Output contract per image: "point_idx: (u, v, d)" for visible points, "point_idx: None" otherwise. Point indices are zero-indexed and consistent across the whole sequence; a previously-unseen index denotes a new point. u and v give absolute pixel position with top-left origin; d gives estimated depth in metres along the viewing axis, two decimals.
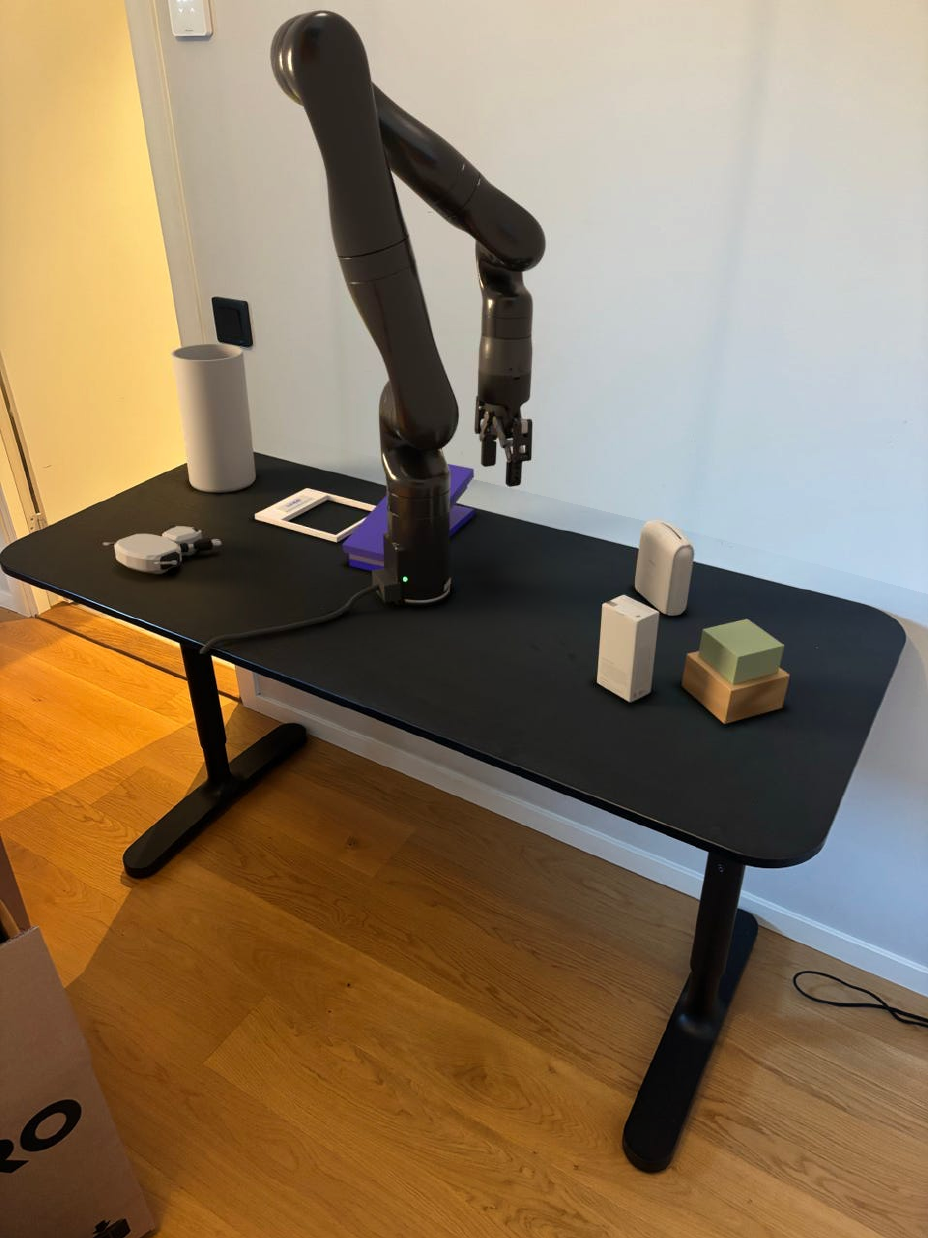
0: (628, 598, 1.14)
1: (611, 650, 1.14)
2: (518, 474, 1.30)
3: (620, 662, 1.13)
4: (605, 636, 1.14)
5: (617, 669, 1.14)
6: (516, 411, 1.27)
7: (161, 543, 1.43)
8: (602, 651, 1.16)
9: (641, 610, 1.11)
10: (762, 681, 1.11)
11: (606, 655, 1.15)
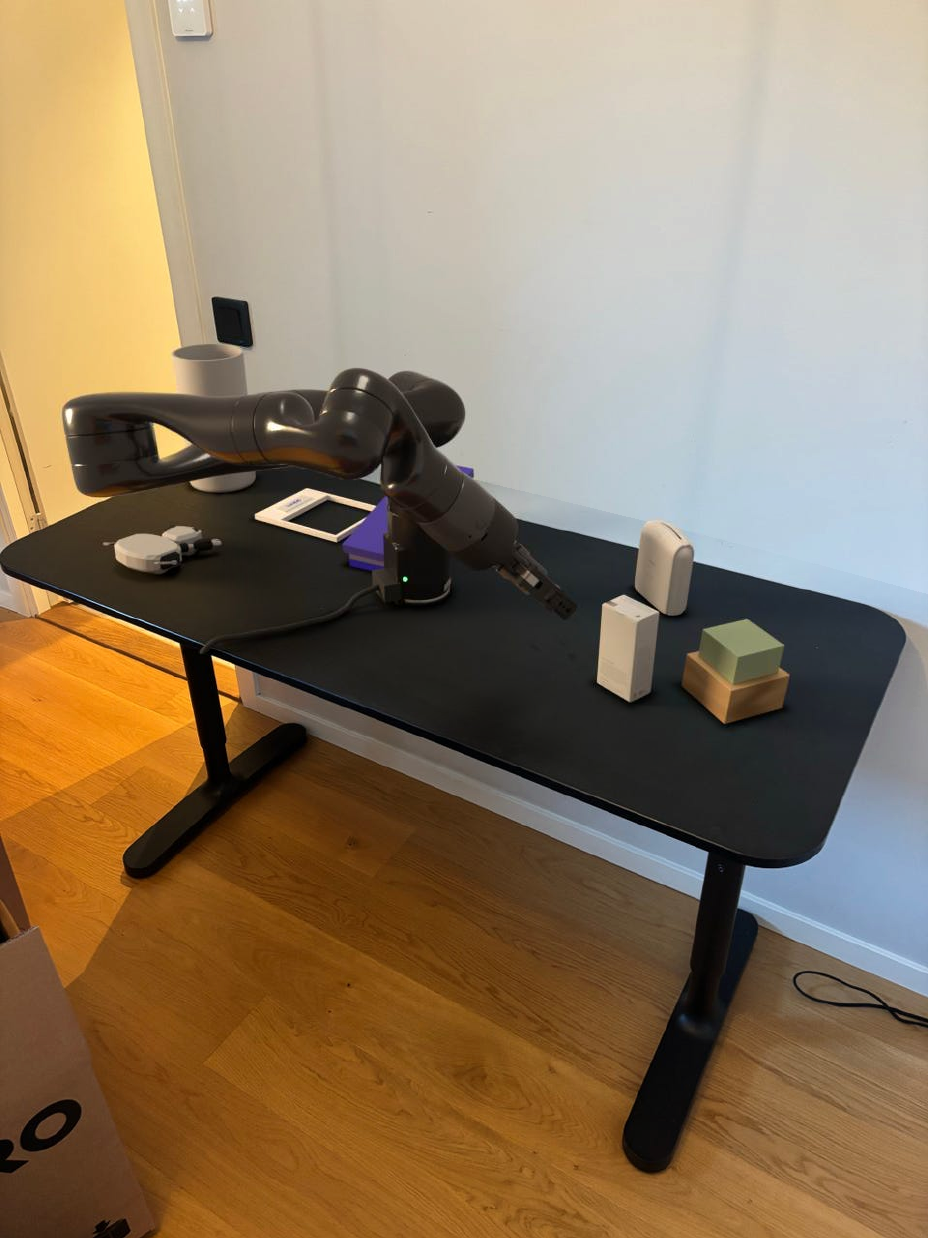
0: (628, 598, 1.14)
1: (611, 650, 1.14)
2: (566, 606, 1.00)
3: (620, 662, 1.13)
4: (605, 636, 1.14)
5: (617, 669, 1.14)
6: (512, 559, 0.96)
7: (161, 543, 1.43)
8: (602, 651, 1.16)
9: (641, 610, 1.11)
10: (762, 681, 1.11)
11: (606, 655, 1.15)
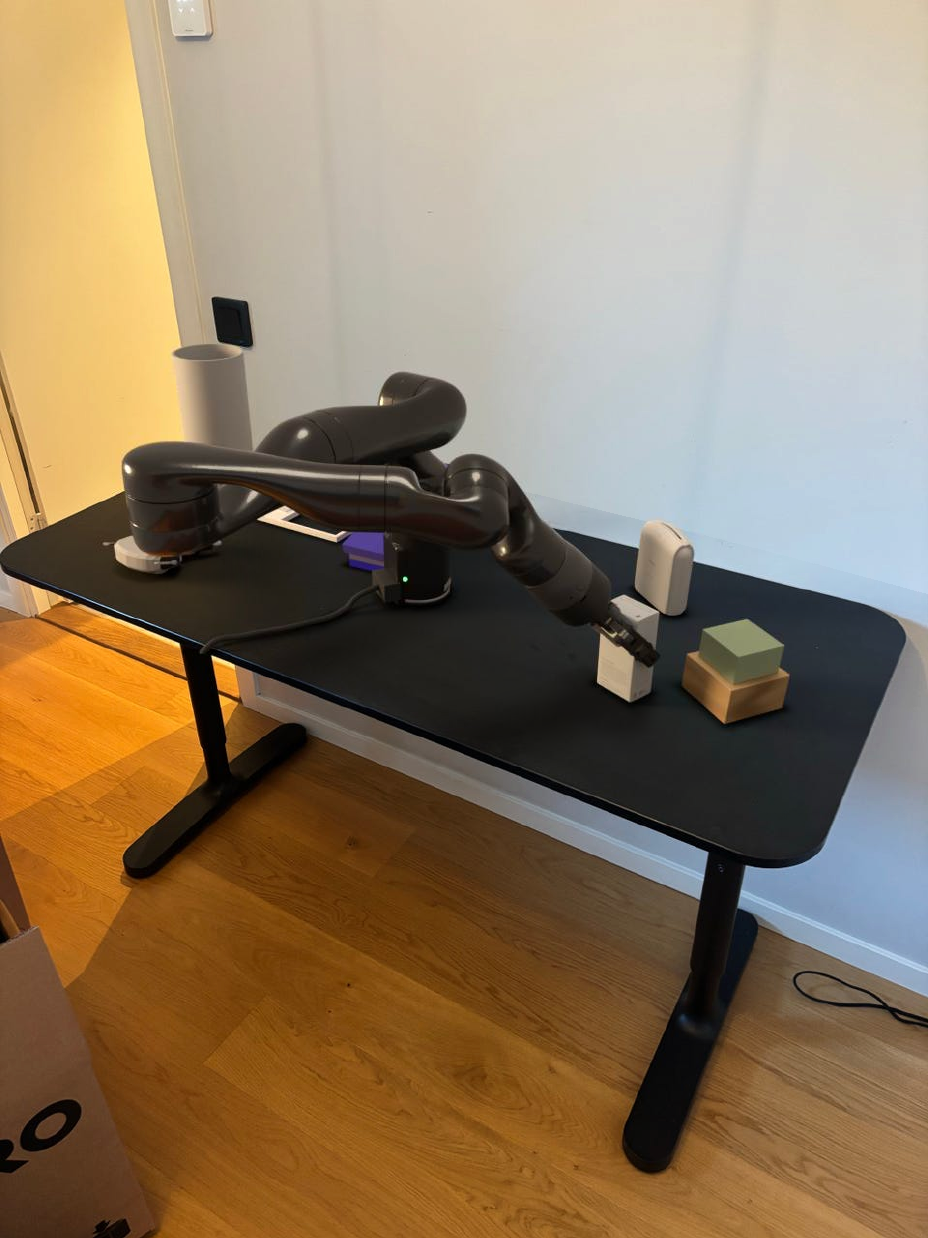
0: (628, 598, 1.14)
1: (611, 650, 1.14)
2: (651, 656, 1.10)
3: (620, 662, 1.13)
4: None
5: (617, 669, 1.14)
6: (606, 617, 1.06)
7: None
8: (602, 651, 1.16)
9: (641, 610, 1.11)
10: (762, 681, 1.11)
11: (606, 655, 1.15)
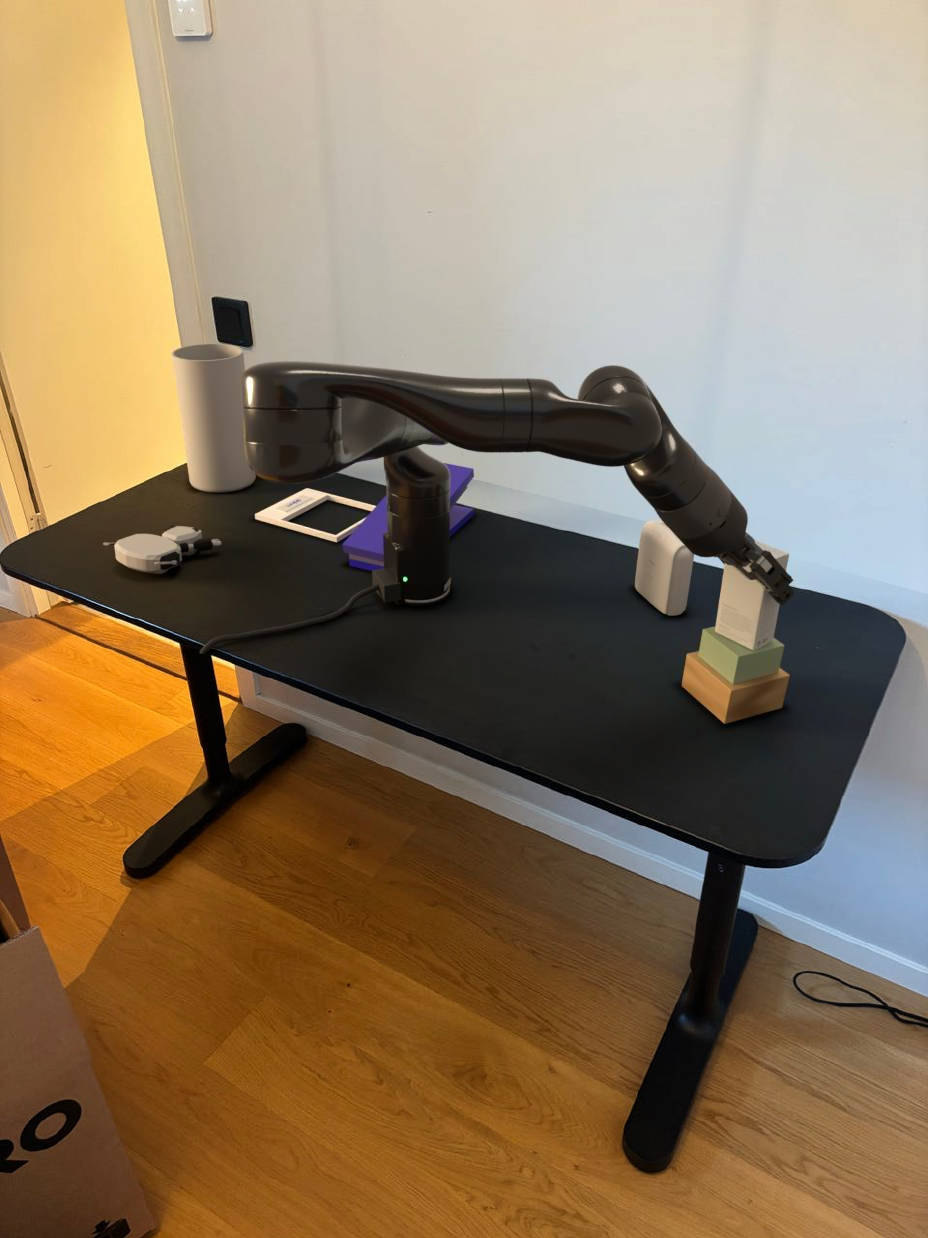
0: None
1: (735, 595, 1.08)
2: (786, 592, 1.03)
3: (745, 608, 1.08)
4: (728, 580, 1.08)
5: (741, 615, 1.08)
6: (743, 546, 0.99)
7: (161, 543, 1.43)
8: (723, 597, 1.10)
9: None
10: (762, 681, 1.11)
11: (728, 601, 1.09)
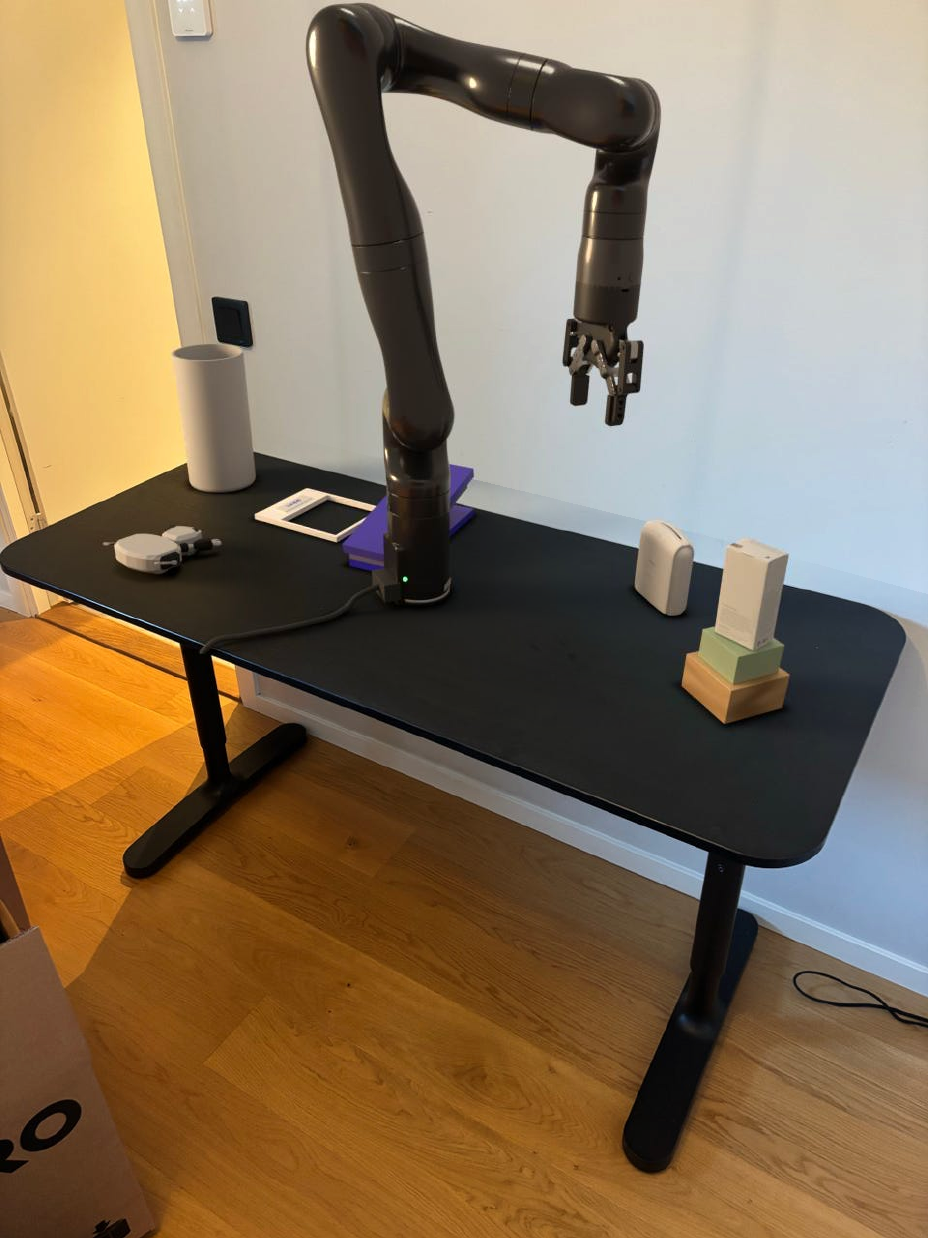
0: (752, 540, 1.08)
1: (735, 595, 1.08)
2: (621, 410, 1.08)
3: (745, 608, 1.08)
4: (728, 580, 1.08)
5: (741, 615, 1.08)
6: (622, 332, 1.05)
7: (161, 543, 1.43)
8: (723, 597, 1.10)
9: (770, 552, 1.05)
10: (762, 681, 1.11)
11: (727, 601, 1.09)
